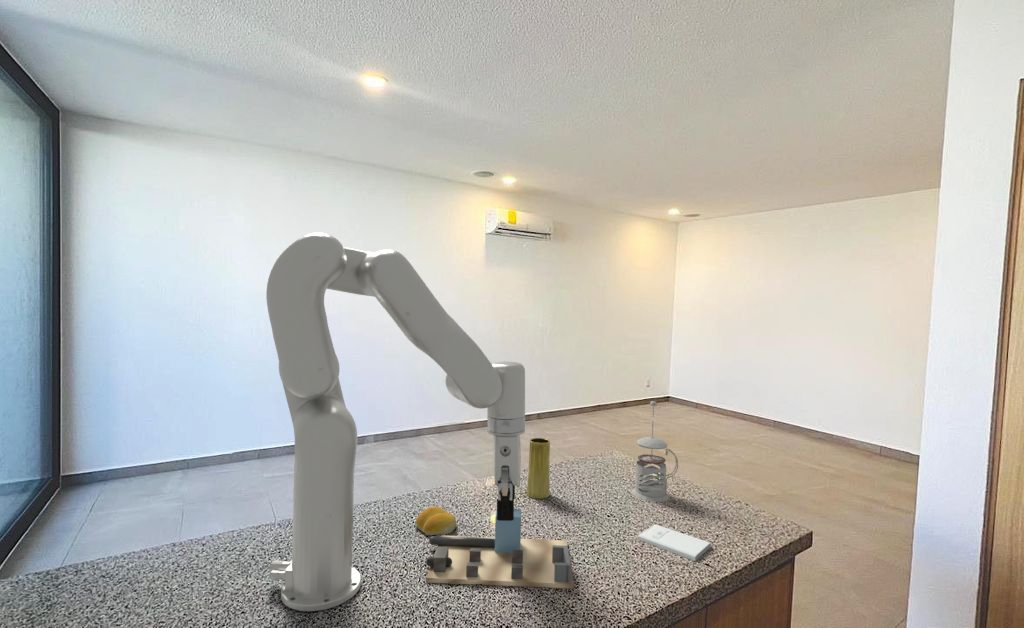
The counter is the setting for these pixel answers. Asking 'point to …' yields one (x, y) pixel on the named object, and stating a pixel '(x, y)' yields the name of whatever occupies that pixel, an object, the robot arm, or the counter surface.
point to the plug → (503, 542)
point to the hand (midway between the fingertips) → (506, 509)
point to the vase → (539, 468)
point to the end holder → (561, 563)
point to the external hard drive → (675, 542)
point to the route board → (497, 565)
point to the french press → (652, 470)
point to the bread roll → (436, 521)
